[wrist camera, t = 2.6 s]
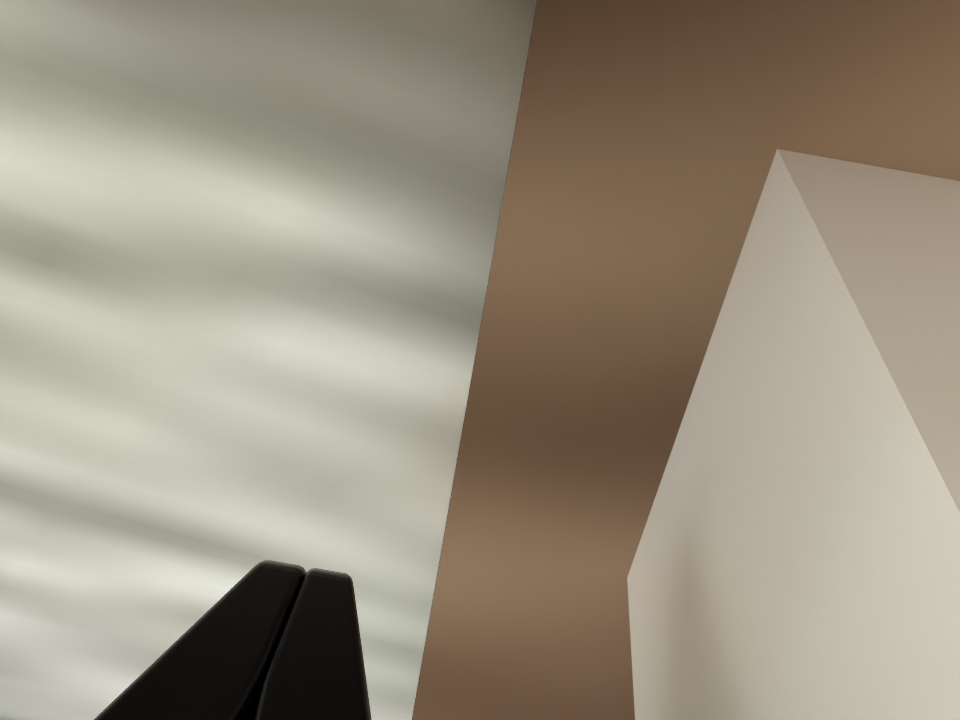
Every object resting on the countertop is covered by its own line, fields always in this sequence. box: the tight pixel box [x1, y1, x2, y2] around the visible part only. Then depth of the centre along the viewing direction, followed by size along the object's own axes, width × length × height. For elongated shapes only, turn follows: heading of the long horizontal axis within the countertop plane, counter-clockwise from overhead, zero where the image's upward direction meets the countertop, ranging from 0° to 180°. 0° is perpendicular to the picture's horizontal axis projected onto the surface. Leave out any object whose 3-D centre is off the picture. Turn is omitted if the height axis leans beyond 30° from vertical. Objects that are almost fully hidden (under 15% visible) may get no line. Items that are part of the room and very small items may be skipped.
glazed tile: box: [627, 149, 960, 720], centre depth 9 cm, size 7×2×7 cm, turn 172°
